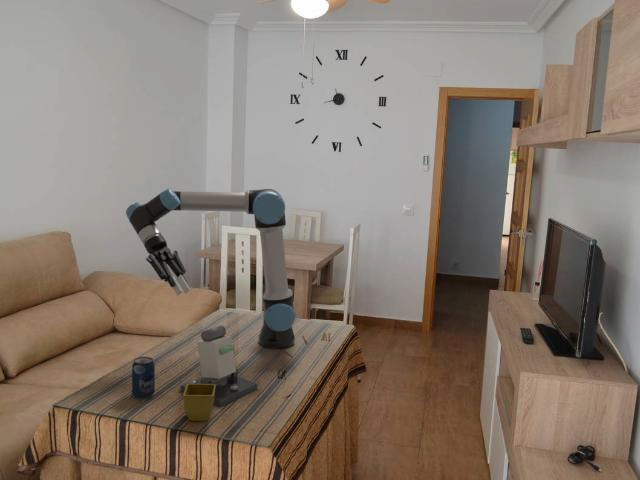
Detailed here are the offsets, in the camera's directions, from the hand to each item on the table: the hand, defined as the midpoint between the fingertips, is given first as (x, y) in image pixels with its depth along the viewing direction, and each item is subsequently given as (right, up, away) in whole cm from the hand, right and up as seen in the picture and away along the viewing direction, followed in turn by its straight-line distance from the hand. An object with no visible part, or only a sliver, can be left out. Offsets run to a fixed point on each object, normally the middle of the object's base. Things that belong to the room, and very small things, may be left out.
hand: (183, 292), depth 214 cm
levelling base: (+15, -32, -13) cm, 37 cm away
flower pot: (+12, -35, -33) cm, 50 cm away
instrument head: (+16, -28, -14) cm, 36 cm away
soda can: (-8, -32, -20) cm, 39 cm away
